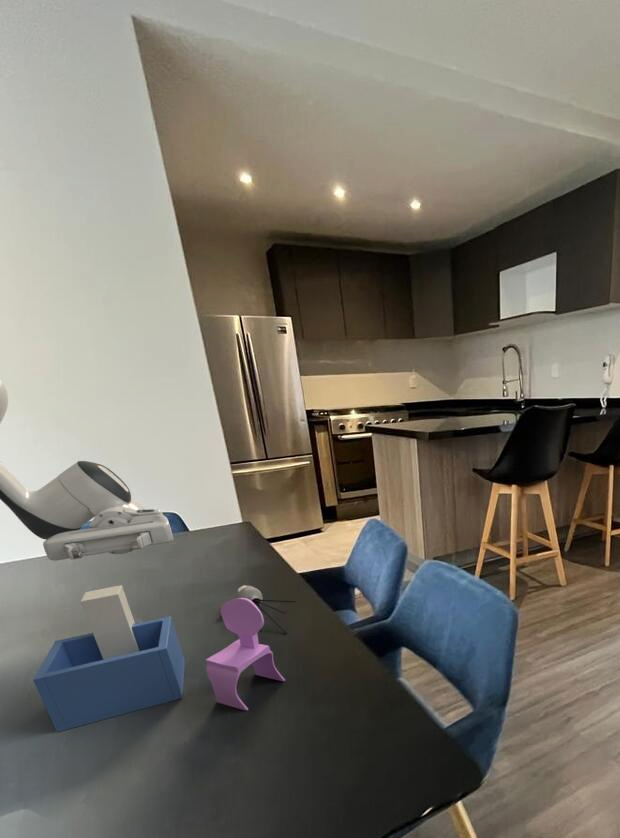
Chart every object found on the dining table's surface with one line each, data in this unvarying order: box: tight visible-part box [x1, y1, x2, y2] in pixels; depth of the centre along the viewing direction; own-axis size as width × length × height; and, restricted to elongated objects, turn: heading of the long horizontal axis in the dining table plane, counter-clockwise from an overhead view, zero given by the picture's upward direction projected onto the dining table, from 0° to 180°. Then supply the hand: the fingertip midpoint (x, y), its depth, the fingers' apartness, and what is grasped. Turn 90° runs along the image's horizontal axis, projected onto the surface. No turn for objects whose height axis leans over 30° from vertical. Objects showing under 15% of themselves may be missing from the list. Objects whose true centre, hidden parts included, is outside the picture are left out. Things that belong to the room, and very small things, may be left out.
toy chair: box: [205, 598, 286, 712], centre depth 74 cm, size 8×9×15 cm
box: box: [32, 615, 186, 733], centre depth 77 cm, size 16×12×9 cm
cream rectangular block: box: [80, 584, 139, 660], centre depth 80 cm, size 5×4×12 cm
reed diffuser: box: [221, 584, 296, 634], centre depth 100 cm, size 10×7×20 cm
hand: (106, 549), depth 87 cm, fingers open, 8 cm apart
